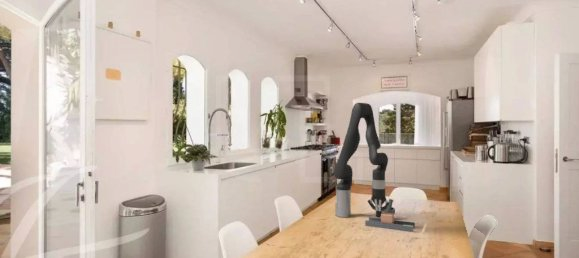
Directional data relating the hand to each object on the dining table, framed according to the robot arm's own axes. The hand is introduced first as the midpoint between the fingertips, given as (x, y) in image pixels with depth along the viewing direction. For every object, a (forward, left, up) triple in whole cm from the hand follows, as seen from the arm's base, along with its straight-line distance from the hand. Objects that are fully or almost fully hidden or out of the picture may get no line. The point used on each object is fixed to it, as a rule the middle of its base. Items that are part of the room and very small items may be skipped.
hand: (378, 217), depth 199 cm
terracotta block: (+5, 0, -5) cm, 7 cm away
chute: (+6, 0, -6) cm, 8 cm away
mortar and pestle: (+1, +19, -6) cm, 20 cm away
